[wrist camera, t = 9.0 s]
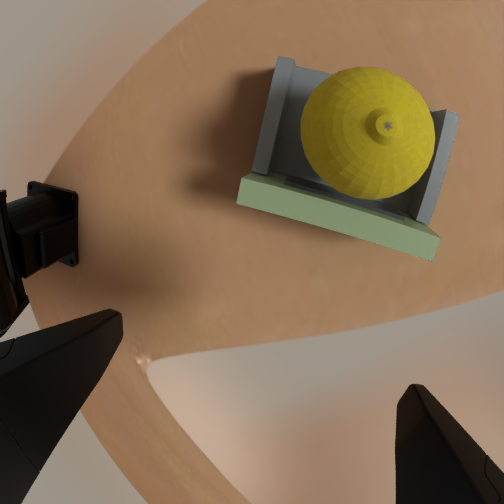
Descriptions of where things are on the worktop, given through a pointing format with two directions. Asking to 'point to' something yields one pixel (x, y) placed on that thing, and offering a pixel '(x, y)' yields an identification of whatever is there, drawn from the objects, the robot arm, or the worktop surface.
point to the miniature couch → (323, 195)
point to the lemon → (367, 133)
